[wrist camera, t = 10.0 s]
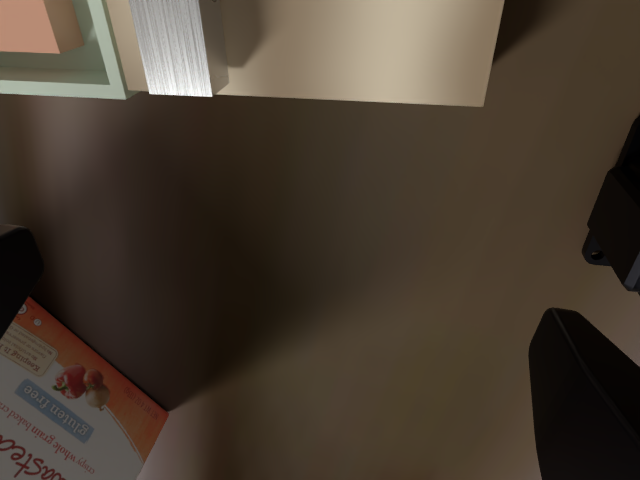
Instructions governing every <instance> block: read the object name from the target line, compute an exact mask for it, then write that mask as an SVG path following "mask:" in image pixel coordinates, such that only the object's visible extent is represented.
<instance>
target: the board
mask: <svg viewBox="0 0 640 480" xmlns="http://www.w3.org/2000/svg"><path fill="white" fill-rule="evenodd" d="M106 2H107V6H108V10H109V14H110V18H111V22H112V27H113V31H114V35H115V39H116V43H117V47H118V51H119V55H120V59H121V63H122V67H123V71H124V75H125V79H126V83H127V87H128V90H134V91H149V90H148V85H147V81H146V76H145V72H144V67H143V63H142V58H141V54H140V50H139V45H138V41H137V36H136V32H135V27H134V23H133V18H132V14H131V10H130V5H129V1H128V0H106ZM503 5H504V0H220V8H221V16H222V25H223V33H224V41H225V49H226V58H227V66H228V74H229V82H230V83H229V84H228V85H226V86H225V87H224V88H223V89H221V90H220V91H219V92H218V93H217V94H220V95H241V96H263V97H284V98H305V99H327V100H348V101H370V102H391V103H412V104H434V105H455V106H477V107H483V104H484V99H485V94H486V89H487V85H488V80H489V75H490V70H491V65H492V60H493V55H494V50H495V45H496V40H497V35H498V30H499V25H500V20H501V15H502V10H503Z"/></svg>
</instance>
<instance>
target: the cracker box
mask: <svg viewBox="0 0 640 480" xmlns="http://www.w3.org/2000/svg"><path fill="white" fill-rule="evenodd" d="M168 416H169V413H168V412H166V411H165V410H164V409H163V408H161V407H160V406H159V405H158V404H156V403H155V402H154V401H153V400H152V399H151V398H149V397H148V396H147V395H146V394H145V393H143V392H142V391H141V390H140V389H139V388H137V387H136V386H135V385H134V384H133V383H131V382H130V381H129V380H128V379H127V378H125V377H124V376H123V375H122V374H121V373H120V372H118V371H117V370H116V369H115V368H114V367H113V366H111V365H110V364H109V363H108V362H106V361H105V360H104V359H103V358H102V357H100V356H99V355H98V354H97V353H96V352H94V351H93V350H92V349H91V348H90V347H89V346H87V345H86V344H85V343H84V342H83V341H81V340H80V339H79V338H78V337H77V336H76V335H74V334H73V333H72V332H71V331H70V330H68V329H67V328H66V327H65V326H64V325H62V324H61V323H60V322H59V321H58V320H57V319H55V318H54V317H53V316H52V315H51V314H50V313H48V312H47V311H46V310H45V309H44V308H42V307H41V306H40V305H39V304H38V303H37V302H35V301H34V300H33V299H32V298H31V297H28V298H27V300H26V301H25V303H24V304H23V306H22V308H21V309H20V311H19V312H18V314H17V315H16V317H15V318H14V320H13V322H12V323H11V325H10V326H9V328H8V329H7V331H6V332H5V334H4V335H3V337H2V338H1V340H0V480H136V479H137V477H138V475H139V473H140V471H141V469H142V467H143V465H144V463H145V461H146V459H147V457H148V455H149V453H150V451H151V449H152V447H153V446H154V444H155V441H156V439H157V437H158V435H159V433H160V432H161V430H162V428H163V426H164V424H165V422H166V420H167V418H168Z"/></svg>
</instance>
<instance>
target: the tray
mask: <svg viewBox="0 0 640 480" xmlns="http://www.w3.org/2000/svg"><path fill="white" fill-rule="evenodd" d="M72 3H73V6H74V10H75V13H76V17H77V20H78V24H79V27H80V31H81V34H82V38H83V41H84V46H81V47H78V48H75V49H72V50H69V51H66V52H63V53H60V54H57V53H32V52H6V51H0V93H6V94H26V95H46V96H66V97H86V98H106V99H128V98H130V97H132V96H133V95H135V94H137V93H138V92H140V91H134V90H128V87H127V83H126V79H125V75H124V71H123V67H122V63H121V59H120V55H119V51H118V47H117V43H116V39H115V35H114V31H113V27H112V22H111V18H110V14H109V10H108V6H107V2H106V0H72Z"/></svg>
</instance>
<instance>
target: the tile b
mask: <svg viewBox="0 0 640 480" xmlns="http://www.w3.org/2000/svg"><path fill="white" fill-rule="evenodd" d="M81 46H84V41H83V38H82V34H81V31H80V27H79V24H78V20H77V17H76V13H75V10H74V6H73V3H72V0H0V51H6V52H32V53H57V54H60V53H63V52H66V51H69V50H72V49H75V48H78V47H81Z"/></svg>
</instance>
